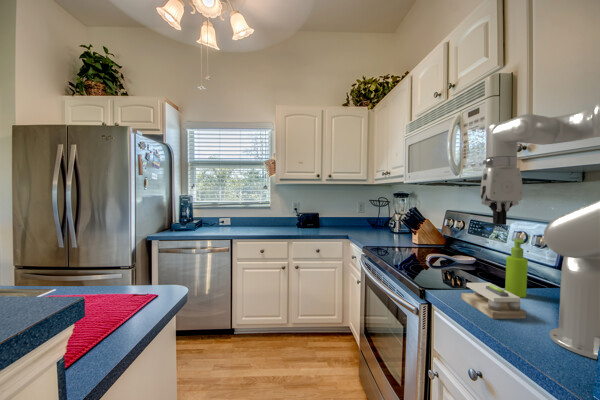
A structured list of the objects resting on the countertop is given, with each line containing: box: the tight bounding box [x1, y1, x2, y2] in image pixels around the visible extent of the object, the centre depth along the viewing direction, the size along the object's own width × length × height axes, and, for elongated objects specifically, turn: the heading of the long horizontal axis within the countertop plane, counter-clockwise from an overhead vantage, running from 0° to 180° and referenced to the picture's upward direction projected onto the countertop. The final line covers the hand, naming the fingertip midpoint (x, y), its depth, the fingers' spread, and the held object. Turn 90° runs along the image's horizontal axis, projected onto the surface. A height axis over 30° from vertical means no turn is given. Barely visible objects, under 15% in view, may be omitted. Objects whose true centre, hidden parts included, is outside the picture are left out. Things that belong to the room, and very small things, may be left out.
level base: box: [460, 291, 527, 320], centre depth 85 cm, size 14×10×4 cm
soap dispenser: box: [504, 238, 529, 299], centre depth 95 cm, size 6×7×20 cm
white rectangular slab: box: [466, 282, 521, 303], centre depth 85 cm, size 12×8×3 cm, turn 3°
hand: (499, 224), depth 82 cm, fingers closed
